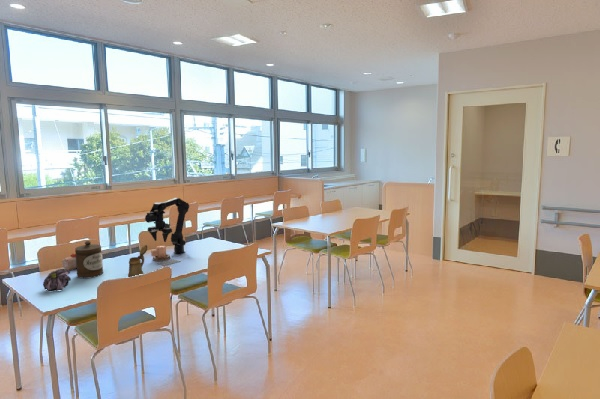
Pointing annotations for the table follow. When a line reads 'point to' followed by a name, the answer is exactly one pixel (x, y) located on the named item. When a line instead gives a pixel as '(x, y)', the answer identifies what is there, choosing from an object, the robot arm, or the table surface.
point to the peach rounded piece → (159, 252)
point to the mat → (168, 262)
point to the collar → (161, 258)
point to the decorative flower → (57, 280)
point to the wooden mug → (137, 263)
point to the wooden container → (89, 260)
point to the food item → (70, 262)
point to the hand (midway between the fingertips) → (160, 241)
